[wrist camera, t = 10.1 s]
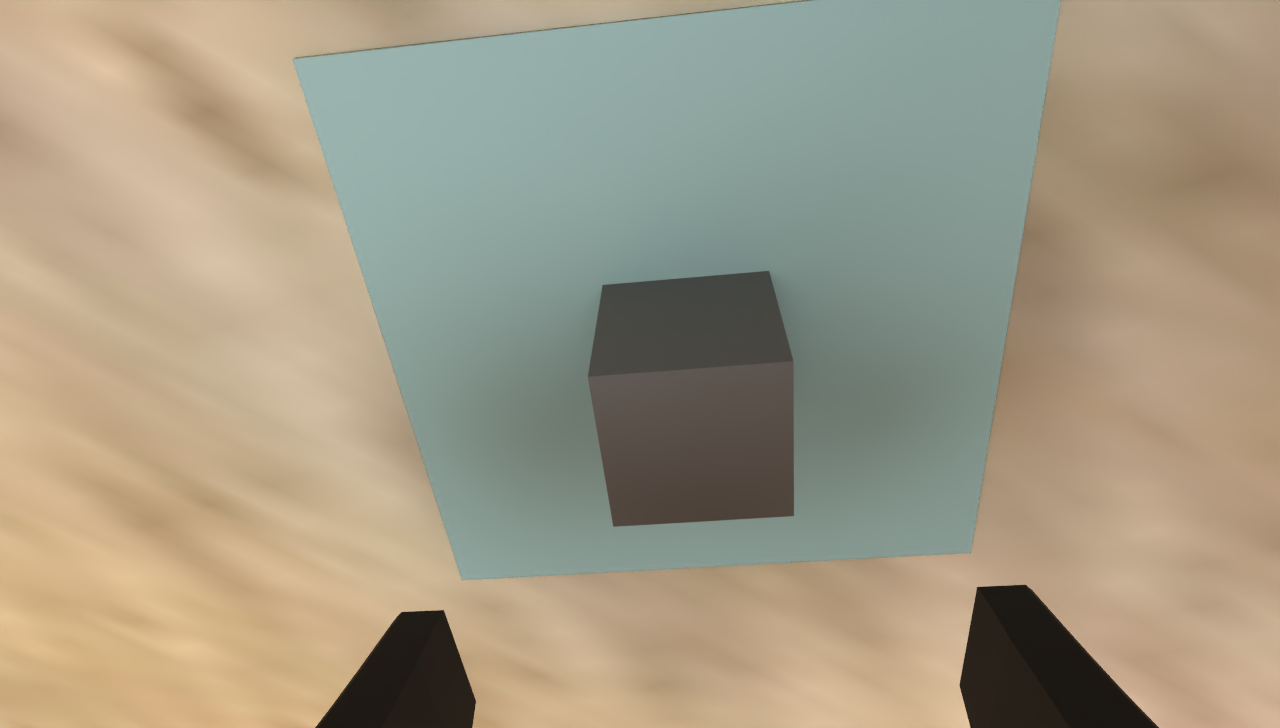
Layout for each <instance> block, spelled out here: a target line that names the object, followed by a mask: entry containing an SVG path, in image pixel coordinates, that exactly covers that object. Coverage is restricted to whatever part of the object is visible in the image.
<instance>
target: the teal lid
mask: <svg viewBox="0 0 1280 728" xmlns="http://www.w3.org/2000/svg"><path fill="white" fill-rule="evenodd" d="M1060 3H1061V0H804V1H795V2H786V3H777V4H768V5H759V6H750V7H741V8H733V9H724V10H715V11H706V12H697V13H688V14H679V15H670V16H661V17H653V18H644V19H635V20H626V21H617V22H608V23H599V24H590V25H581V26H573V27H564V28H555V29H546V30H537V31H528V32H519V33H510V34H502V35H493V36H484V37H475V38H466V39H457V40H448V41H439V42H430V43H422V44H413V45H404V46H395V47H386V48H377V49H368V50H359V51H350V52H342V53H333V54H324V55H315V56H306V57H297V58H294V59H293V62H294V65H295V69H296V72H297V75H298V78H299V81H300V84H301V87H302V90H303V93H304V96H305V99H306V102H307V105H308V108H309V112H310V115H311V118H312V121H313V124H314V127H315V130H316V133H317V136H318V139H319V142H320V145H321V148H322V151H323V155H324V158H325V161H326V164H327V167H328V170H329V173H330V176H331V179H332V182H333V185H334V188H335V191H336V194H337V198H338V201H339V204H340V207H341V210H342V213H343V216H344V219H345V222H346V225H347V228H348V231H349V234H350V237H351V241H352V244H353V247H354V250H355V253H356V256H357V259H358V262H359V265H360V268H361V271H362V274H363V277H364V280H365V284H366V287H367V290H368V293H369V296H370V299H371V302H372V305H373V308H374V311H375V314H376V317H377V320H378V323H379V327H380V330H381V333H382V336H383V339H384V342H385V345H386V348H387V351H388V354H389V357H390V360H391V363H392V366H393V370H394V373H395V376H396V379H397V382H398V385H399V388H400V391H401V394H402V397H403V400H404V403H405V406H406V409H407V413H408V416H409V419H410V422H411V425H412V428H413V431H414V434H415V437H416V440H417V443H418V446H419V449H420V452H421V456H422V459H423V462H424V465H425V468H426V471H427V474H428V477H429V480H430V483H431V486H432V489H433V492H434V495H435V499H436V502H437V505H438V508H439V511H440V514H441V517H442V520H443V523H444V526H445V529H446V532H447V535H448V538H449V542H450V545H451V548H452V551H453V554H454V557H455V560H456V563H457V566H458V569H459V572H460V575H461V578H462V580H478V579H496V578H514V577H533V576H551V575H570V574H588V573H607V572H625V571H644V570H662V569H681V568H699V567H718V566H736V565H755V564H773V563H792V562H810V561H829V560H847V559H866V558H884V557H902V556H921V555H939V554H958V553H971V548H972V542H973V536H974V530H975V523H976V517H977V511H978V505H979V499H980V493H981V487H982V481H983V475H984V468H985V462H986V456H987V450H988V444H989V438H990V432H991V426H992V419H993V413H994V407H995V401H996V395H997V389H998V383H999V377H1000V370H1001V364H1002V358H1003V352H1004V346H1005V340H1006V334H1007V328H1008V321H1009V315H1010V309H1011V303H1012V297H1013V291H1014V285H1015V279H1016V272H1017V266H1018V260H1019V254H1020V248H1021V242H1022V236H1023V230H1024V223H1025V217H1026V211H1027V205H1028V199H1029V193H1030V187H1031V181H1032V174H1033V168H1034V162H1035V156H1036V150H1037V144H1038V138H1039V132H1040V126H1041V119H1042V113H1043V107H1044V101H1045V95H1046V89H1047V83H1048V77H1049V70H1050V64H1051V58H1052V52H1053V46H1054V40H1055V34H1056V28H1057V21H1058V15H1059V9H1060Z"/></svg>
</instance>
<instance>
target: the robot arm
mask: <svg viewBox="0 0 1280 728" xmlns="http://www.w3.org/2000/svg"><path fill="white" fill-rule="evenodd" d="M960 689H961V693H962V696H963V700H964V704H965V708H966V712H967V715H968V719H969V723H970V727H971V728H1159V727H1158V726H1157V725H1156V724H1155V723H1154V722H1153V721H1152V720H1151V719H1150V718H1149V717H1148V716H1147V715H1146V714H1145V713H1144V712H1143V711H1142V710H1141V709H1140V708H1139V707H1138V706H1137V705H1136V704H1135V703H1134V702H1133V701H1132V700H1131V699H1130V697H1129V696H1128V695H1127V694H1126V693H1125V692H1124V691H1123V690H1122V689H1121V688H1120V687H1119V686H1118V685H1117V684H1116V683H1115V682H1114V681H1113V679H1112V678H1111V677H1110V676H1109V675H1108V674H1107V673H1106V672H1105V671H1104V670H1103V669H1102V667H1101V666H1100V665H1099V664H1098V663H1097V662H1096V661H1095V660H1094V659H1093V658H1092V657H1091V656H1090V654H1089V653H1088V652H1087V651H1086V650H1085V649H1084V648H1083V647H1082V646H1081V645H1080V643H1079V642H1078V641H1077V640H1076V639H1075V638H1074V637H1073V636H1072V635H1071V633H1070V632H1069V631H1068V630H1067V629H1066V628H1065V627H1064V626H1063V625H1062V623H1061V622H1060V621H1059V620H1058V619H1057V618H1056V617H1055V615H1054V614H1053V613H1052V612H1051V611H1050V610H1049V609H1048V608H1047V606H1046V605H1045V604H1044V603H1043V602H1042V601H1041V600H1040V599H1039V597H1038V596H1037V595H1036V594H1035V593H1034V592H1033V591H1032V590H1031V589H1030V588H1029V587H1028V586H1026V585H1013V586H990V587H977V592H976V597H975V603H974V608H973V614H972V619H971V625H970V631H969V636H968V642H967V647H966V653H965V658H964V664H963V669H962V675H961V680H960ZM475 704H476V700H475V697H474V695H473V692H472V689H471V686H470V683H469V680H468V678H467V675H466V672H465V669H464V666H463V663H462V661H461V658H460V655H459V652H458V649H457V646H456V644H455V641H454V638H453V635H452V632H451V629H450V627H449V624H448V621H447V618H446V615H445V613H444V610H439V611H416V612H401V613H400V614H399V615H398V616H397V618H396V619H395V620H394V621H393V623H392V624H391V626H390V627H389V628H388V630H387V631H386V632H385V634H384V635H383V637H382V638H381V639H380V641H379V642H378V644H377V645H376V646H375V648H374V649H373V651H372V652H371V653H370V655H369V656H368V657H367V659H366V660H365V662H364V663H363V664H362V666H361V667H360V669H359V670H358V671H357V673H356V674H355V675H354V677H353V678H352V679H351V681H350V682H349V684H348V685H347V686H346V688H345V689H344V690H343V692H342V693H341V694H340V696H339V697H338V698H337V700H336V701H335V703H334V704H333V705H332V707H331V708H330V709H329V711H328V712H327V713H326V714H325V716H324V717H323V718H322V720H321V721H320V722H319V724H318V725H317V726H316V727H315V728H472V725H473V718H474V711H475Z"/></svg>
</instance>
